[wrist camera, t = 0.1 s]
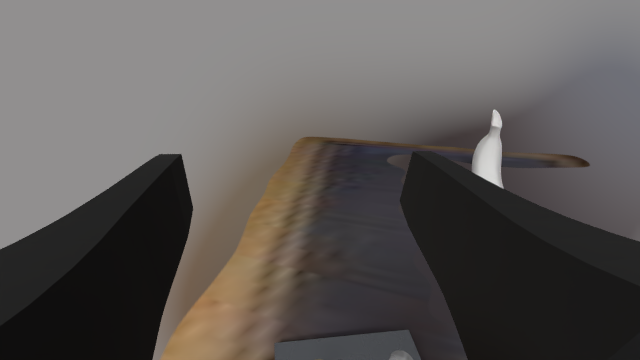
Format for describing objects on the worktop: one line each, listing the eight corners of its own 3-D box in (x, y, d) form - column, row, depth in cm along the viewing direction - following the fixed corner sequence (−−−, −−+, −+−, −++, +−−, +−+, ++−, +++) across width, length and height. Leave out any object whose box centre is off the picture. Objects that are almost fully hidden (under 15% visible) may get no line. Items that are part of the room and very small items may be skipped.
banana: (504, 272, 37) (559, 161, 29) (452, 187, 53) (479, 103, 46) (545, 275, 37) (611, 165, 29) (480, 189, 53) (512, 105, 46)
